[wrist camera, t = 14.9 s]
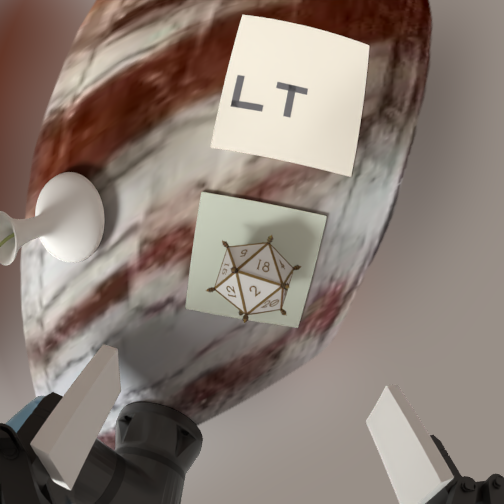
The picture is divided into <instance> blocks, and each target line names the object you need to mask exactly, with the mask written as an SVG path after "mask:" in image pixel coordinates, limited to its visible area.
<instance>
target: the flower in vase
mask: <svg viewBox="0 0 504 504" xmlns="http://www.w3.org/2000/svg"><path fill="white" fill-rule="evenodd" d="M104 223H105V217H104V208H103V204H102V201H101V198H100V195H99V193H98V191H97V190H96V188H95V187H94V185H93V184H92V183H91V182H90V181H89V180H88V179H87V178H86V177H84V176H83V175H80V174H78V173H74V172H65V173H62V174H59V175H57V176H55V177H54V178H53V179H51V180H50V181H49V182H48V183H47V184H46V185H45V186H44V188H43V189H42V191H41V193H40V195H39V197H38V201H37V205H36V211H35V217H33V218H28V219H13V218H11V217H9V216H8V215H7V214H6V213H5V212H2V211H0V263H1V264H3V265H9V264H11V263H12V262H13V260H14V259H15V257H16V254H17V251H18V250H19V248H20V247H22V246H23V245H24V244H25V243H27V242H29V241H31V240H33V239H35V238H38V237H39V238H40V240H41V242H42V244H43V245H44V247H45V248H46V249H47V251H48V252H49V253H50V254H51V255H52V256H54V257H55V258H57V259H59V260H61V261H64V262H70V263H76V262H81V261H84V260H86V259H87V258H89V257H90V256H91V255H92V254H93V253H94V252H95V251H96V249H97V248H98V246H99V244H100V242H101V239H102V236H103V232H104Z"/></svg>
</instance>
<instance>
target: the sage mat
mask: <svg viewBox="0 0 504 504" xmlns="http://www.w3.org/2000/svg"><path fill="white" fill-rule="evenodd" d="M326 218H327V216H325V215H321V214H316V213H312V212H307V211H302V210H298V209H293V208H288V207H283V206H278V205H273V204H268V203H263V202H258V201H252V200H247V199H242V198H236V197H231V196H225V195H219V194H213V193H207V192H201V198H200V204H199V210H198V216H197V223H196V229H195V236H194V243H193V250H192V257H191V264H190V272H189V280H188V288H187V297H186V306H185V309H189V310H194V311H199V312H204V313H209V314H215V315H220V316H226V317H231V318H237V319H242V318H243V316H244V315H245V314H243V315H241V316H240V315H239V313H238V312H239V310H238V309H237V308H236V307H235V306H233V305H232V304H231V303H230V302H229V301H227V300H226V299H225V298H224V297H222V296H221V295H220V294H219V293H218V292H216V291H213V292H207V291H206V290H207V289H208V288H211V287H215V283H216V280H217V277H218V274H219V271H220V268H221V265H222V262H223V259H224V255H225V252H226V249H227V248H226V247H224V245H223V243H222V240H223V241H227V243H228V245H229V246H236V245H245V244H254V243H262V242H267V239H268V237H269V236H270V235H272V236H273V240H272V242H271V245H272V246H273V247H274V248H275V249H276V250H277V251H278V252H279V253H280V254H281V255H282V256H283V257H284V258H285V259H286V260H287V261H288V263H289V264H290V265H291V266H292V267H294V266H295V265H299V266H302V267H301V268H300V269H299V270H294V271H293V274H292V278H291V281H290V284H289V287H290V288H288V291H287V294H286V297H285V301H284V304H283V307H282V309H284V310H285V311H286V315H287V316H286V315H282V313H281V312H280V310H278V311H272V312H266V313H259V314H253V315H248V317H249V318H248V320H249V321H255V322H261V323H268V324H274V325H281V326H288V327H295V328H298V326H299V323H300V319H301V316H302V312H303V309H304V305H305V302H306V298H307V294H308V291H309V287H310V283H311V279H312V276H313V272H314V268H315V264H316V260H317V256H318V252H319V248H320V244H321V239H322V235H323V231H324V227H325V222H326Z"/></svg>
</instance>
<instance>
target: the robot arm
mask: <svg viewBox="0 0 504 504" xmlns="http://www.w3.org/2000/svg"><path fill="white" fill-rule="evenodd" d="M120 392H121V384H120V373H119V360H118V349H117V348H114V347H110V346H107V345H104V344H103V345H102V347H101V348H100V349H99V350H98V352H97V353H96V354H95V355H94V357H93V358H92V359H91V361H90V362H89V363H88V364H87V366H86V367H85V368H84V370H83V371H82V372H81V373H80V375H79V376H78V377H77V379H76V380H75V381H74V383H73V384H72V385H71V387H70V388H69V389H68V391H67V392H66V393H65V395H64V396H60V395H58V394H56V393H54V392H52V393H51V394H49V395H47V396H38V397H36V398H35V399H34V400H32V401H31V402H30V403H28V404H27V405H26V406H25V407H24V408H23V409H21V410H20V411H19V412H18V413H17V414H15V415H14V416H13V417H12V418H11V419H10V420H9V421H8V422H6V424H2V423H0V504H180V503H181V497H182V491H183V486H184V480H185V475H186V473H187V471H188V470H189V469H190V467H191V466H192V464H193V463H194V461H195V460H196V458H197V457H198V455H199V453H200V451H201V447H202V440H203V438H202V434H201V432H200V430H199V428H198V427H197V426H196V424H195V423H194V422H193V421H191V420H190V419H189V418H188V417H186V416H185V415H183V414H181V413H180V412H178V411H176V410H173V409H171V408H169V407H166V406H163V405H159V404H154V403H147V402H138V403H132V404H129V405H127V406H125V407H124V408H123V409H122V410H121V412H120V414H119V416H118V418H117V421H116V435H115V451H114V450H112V449H111V448H109V447H108V446H107V445H105V444H104V443H103V442H101V441H100V440H99V439H97V436H98V434H99V432H100V430H101V428H102V426H103V424H104V422H105V420H106V418H107V417H108V415H109V413H110V411H111V409H112V407H113V405H114V403H115V401H116V400H117V398H118V396H119V394H120ZM366 423H367V426H368V428H369V430H370V433H371V435H372V437H373V439H374V442H375V444H376V447H377V449H378V451H379V454H380V456H381V458H382V461H383V463H384V466H385V468H386V471H387V473H388V476H389V478H390V481H391V483H392V485H393V488H394V491H395V493H396V496H397V498H398V501H399V503H400V504H504V478H503V477H502V476H501V475H499V474H493V475H491V476H490V477H489V478H488V479H487V480H486V481H481V482H475V481H474V480H473V479H472V478H470V477H465V476H464V477H462V476H461V475H460V473H459V471H458V470H457V468H456V466H455V465H454V463H453V461H452V460H451V458H450V456H448V453H447V451H446V450H445V448H444V446H443V445H442V443H441V441H440V440H438V439H437V438H436V437H435V436H434V435H429V433H428V432H427V430H426V428H425V427H424V425H423V424H422V422H421V421H420V419H419V417H418V416H417V414H416V412H415V411H414V409H413V408H412V406H411V405H410V403H409V402H408V400H407V398H406V397H405V395H404V394H403V392H402V391H401V389H400V387H399V386H398V385H387V386H386V387H385V389H384V391H383V393H382V395H381V397H380V398H379V400H378V402H377V404H376V405H375V407H374V409H373V410H372V412H371V414H370V416H369V417H368V419H367V420H366Z"/></svg>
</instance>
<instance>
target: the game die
mask: <svg viewBox="0 0 504 504" xmlns="http://www.w3.org/2000/svg"><path fill="white" fill-rule="evenodd" d="M272 240H273V236H272V235H270V236H269V237H268V239H267V242H262V243H254V244H245V245H236V246H229V245H228V243H227V241H223V240H222V243H223V245H224V247H226V248H227V249H226V252H225V255H224V259H223V262H222V265H221V268H220V271H219V274H218V277H217V280H216V283H215V287H211V288H208V289H207V290H206V291H207V292H213V291H216V292H218V293H219V294H220V295H221V296H222V297H224V298H225V299H226V300H227V301H229V302H230V303H231V304H232V305H233V306H235V307H236V308H237V309H238V310H239V312H238V313H239V315H240V316H241V315H243V314H245V315H244V316H243V318H242V319H243V321H244V323H245V322H246V321H248V318H249V317H248V315H253V314H259V313H266V312H272V311H278V310H280V312H281V313H282V315H286V311H285V310H284V309H282V307H283V304H284V301H285V297H286V294H287V291H288V288H290V287H289V284H290V281H291V278H292V274H293V271H294V270H299V269H300V268H301V267H302V266H299V265H295V266H294V267H292V266H291V265H290V264H289V263H288V261H287V260H286V259H285V258H284V257H283V256H282V255H281V254H280V253H279V252H278V251H277V250H276V249H275V248H274V247H273V246H272V245H271V242H272ZM286 316H287V315H286Z"/></svg>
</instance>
